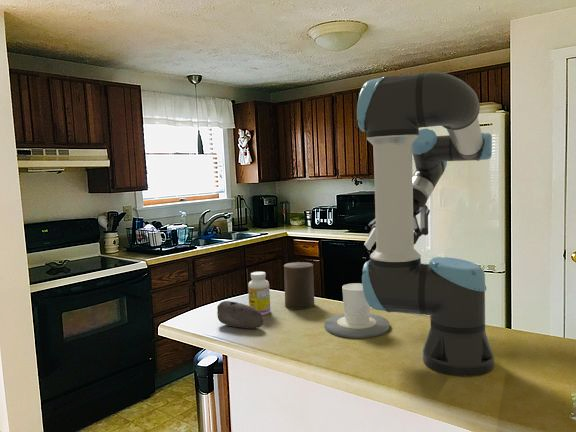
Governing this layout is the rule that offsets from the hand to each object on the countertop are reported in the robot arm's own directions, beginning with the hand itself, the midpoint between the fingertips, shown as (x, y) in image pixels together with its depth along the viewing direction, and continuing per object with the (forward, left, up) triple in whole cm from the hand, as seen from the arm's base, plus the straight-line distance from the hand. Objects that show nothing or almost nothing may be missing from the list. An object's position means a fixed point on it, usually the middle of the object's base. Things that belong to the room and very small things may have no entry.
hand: (384, 249), depth 137 cm
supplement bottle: (+7, +39, -21) cm, 45 cm away
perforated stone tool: (-6, +42, -21) cm, 47 cm away
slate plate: (-6, +9, -21) cm, 23 cm away
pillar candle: (+15, +27, -21) cm, 37 cm away
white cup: (-6, +9, -19) cm, 22 cm away
